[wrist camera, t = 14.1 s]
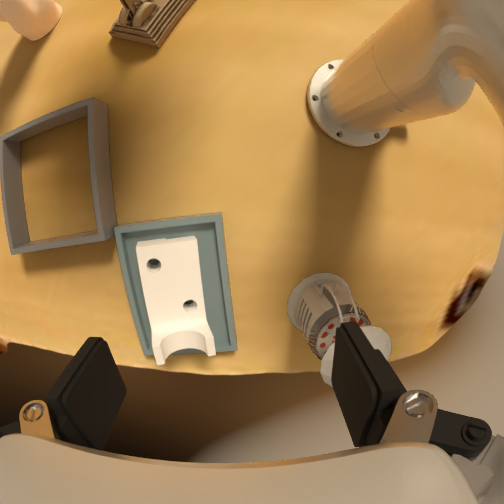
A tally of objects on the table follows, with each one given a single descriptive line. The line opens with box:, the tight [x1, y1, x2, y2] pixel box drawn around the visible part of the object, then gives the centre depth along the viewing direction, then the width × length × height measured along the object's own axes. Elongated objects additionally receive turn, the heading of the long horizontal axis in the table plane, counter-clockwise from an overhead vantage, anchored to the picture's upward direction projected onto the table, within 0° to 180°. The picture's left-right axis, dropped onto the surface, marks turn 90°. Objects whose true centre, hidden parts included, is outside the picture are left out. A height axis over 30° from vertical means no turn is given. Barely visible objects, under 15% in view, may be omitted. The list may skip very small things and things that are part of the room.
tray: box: [114, 212, 237, 355], centre depth 36 cm, size 14×19×2 cm
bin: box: [0, 97, 118, 255], centre depth 29 cm, size 18×18×4 cm
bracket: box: [136, 236, 216, 365], centre depth 32 cm, size 13×7×8 cm, turn 3°
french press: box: [287, 272, 392, 387], centre depth 27 cm, size 10×12×25 cm
